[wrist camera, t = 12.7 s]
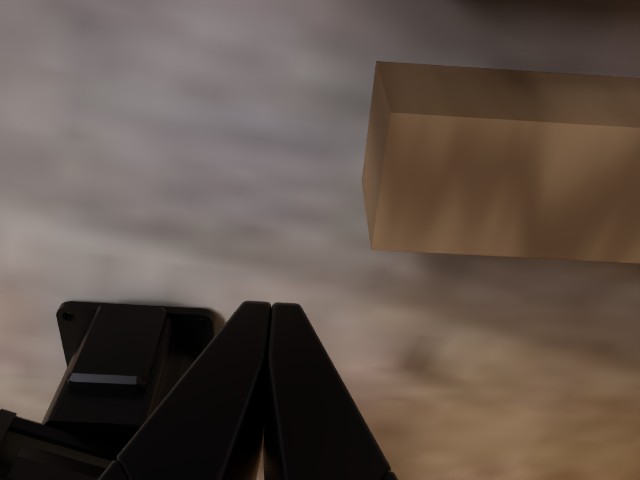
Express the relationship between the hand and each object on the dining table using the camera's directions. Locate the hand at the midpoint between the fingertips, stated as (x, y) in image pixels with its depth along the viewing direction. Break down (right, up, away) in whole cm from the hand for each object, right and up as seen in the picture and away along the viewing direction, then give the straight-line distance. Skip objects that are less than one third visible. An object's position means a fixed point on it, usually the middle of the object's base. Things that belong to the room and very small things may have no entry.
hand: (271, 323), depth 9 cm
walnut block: (+12, +4, +11) cm, 17 cm away
